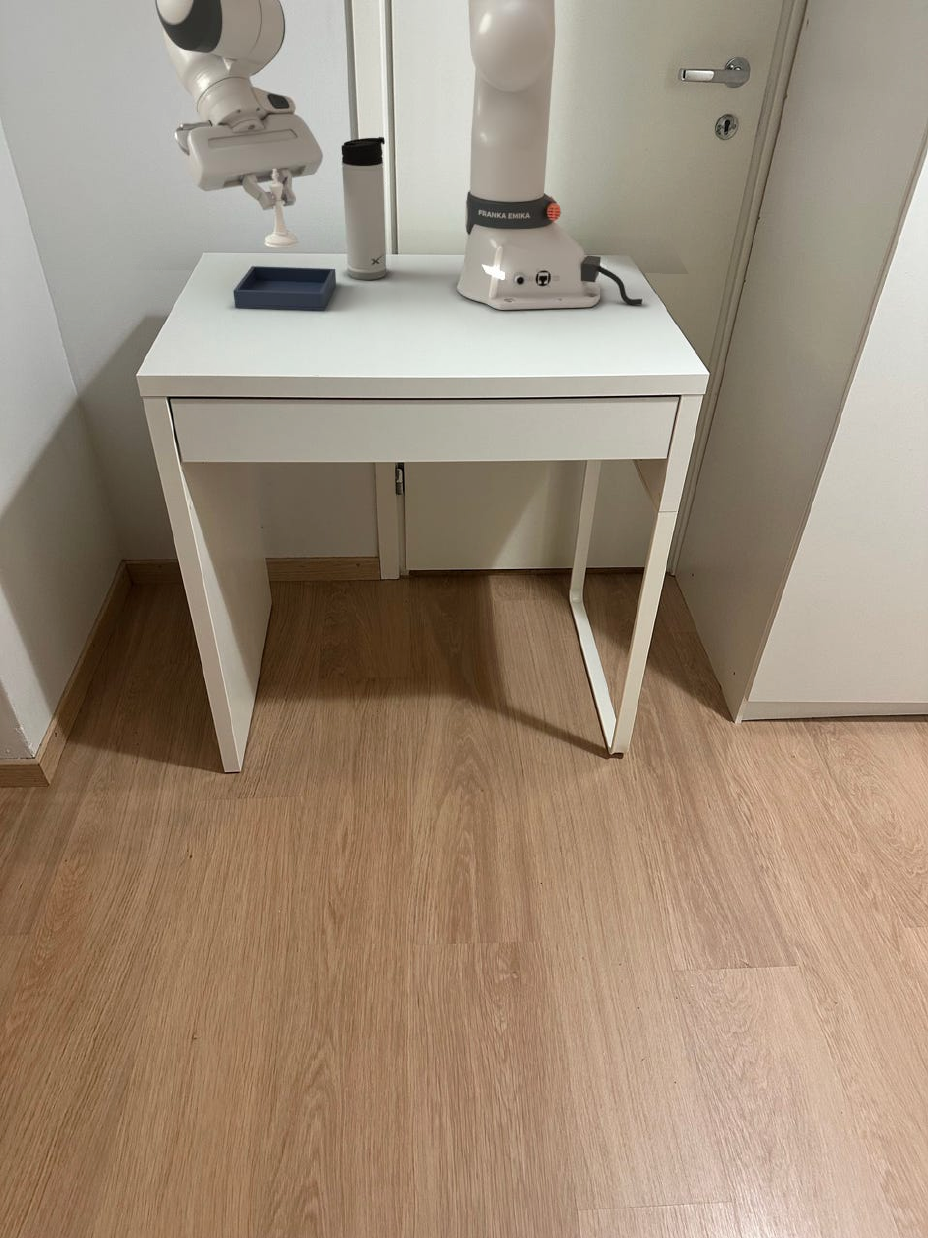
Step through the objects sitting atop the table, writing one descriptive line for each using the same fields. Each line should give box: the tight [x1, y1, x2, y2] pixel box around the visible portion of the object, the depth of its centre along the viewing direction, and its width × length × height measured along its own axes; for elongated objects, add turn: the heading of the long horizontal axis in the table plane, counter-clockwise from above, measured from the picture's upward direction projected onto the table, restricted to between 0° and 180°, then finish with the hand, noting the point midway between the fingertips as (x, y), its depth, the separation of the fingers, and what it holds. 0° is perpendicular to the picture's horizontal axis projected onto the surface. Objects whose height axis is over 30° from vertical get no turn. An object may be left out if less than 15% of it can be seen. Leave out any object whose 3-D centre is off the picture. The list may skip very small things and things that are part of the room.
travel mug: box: [341, 136, 387, 281], centre depth 138 cm, size 6×7×20 cm
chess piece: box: [264, 169, 300, 249], centre depth 127 cm, size 5×5×10 cm
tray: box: [232, 265, 337, 312], centre depth 134 cm, size 13×12×2 cm
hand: (280, 205), depth 127 cm, fingers closed on chess piece, 2 cm apart
